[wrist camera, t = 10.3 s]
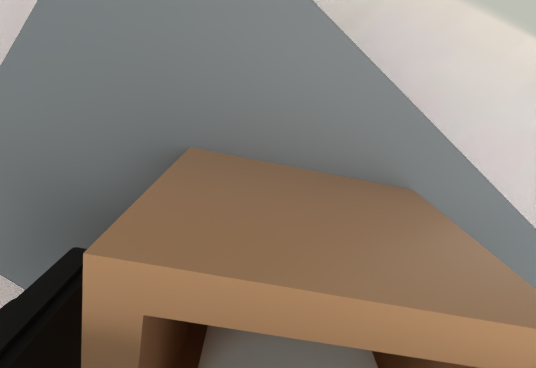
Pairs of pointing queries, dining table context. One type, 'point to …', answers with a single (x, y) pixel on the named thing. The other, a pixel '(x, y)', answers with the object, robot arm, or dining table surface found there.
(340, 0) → the dining table surface
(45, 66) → the grey plate with peg
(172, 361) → the collar
